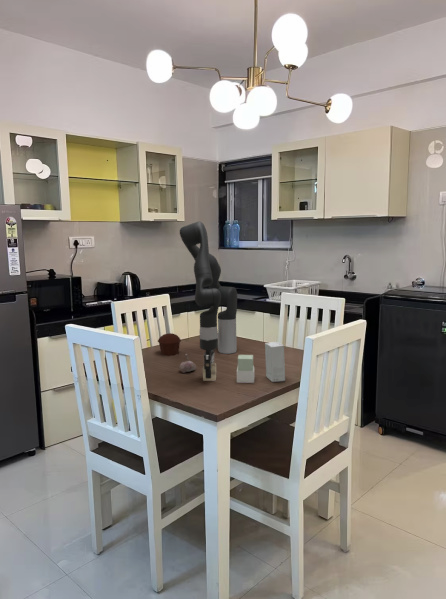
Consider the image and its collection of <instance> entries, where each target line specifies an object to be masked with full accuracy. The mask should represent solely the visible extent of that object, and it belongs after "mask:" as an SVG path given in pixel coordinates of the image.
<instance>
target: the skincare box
mask: <svg viewBox="0 0 446 599" xmlns="http://www.w3.org/2000/svg"><path fill="white" fill-rule="evenodd" d="M264 350H265V354H264V355H265V377H266V378H267V379H268V380H269V381H271V382H272V383H275V382H276V383H277V382H285V381H286V370H285V369H286V366H285V345H284V344H282V343H281V342H278V341H270V342H265V343H264Z"/></svg>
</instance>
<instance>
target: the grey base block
mask: <svg viewBox="0 0 446 599" xmlns="http://www.w3.org/2000/svg"><path fill="white" fill-rule="evenodd" d="M236 383H237V384H241V383H244V384H247V383H248V384H255V366H254V365H253V371H238V366H237V367H236Z"/></svg>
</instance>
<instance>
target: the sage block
mask: <svg viewBox="0 0 446 599" xmlns="http://www.w3.org/2000/svg"><path fill="white" fill-rule="evenodd" d="M253 366H254V354H238V356H237V367H238V371H253Z"/></svg>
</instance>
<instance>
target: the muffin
mask: <svg viewBox="0 0 446 599" xmlns="http://www.w3.org/2000/svg"><path fill="white" fill-rule="evenodd" d="M181 341H182V340H181V337H180V336H179V335H177V334H175V333H173V332H171V333H170V332H169V333H164V334H162V335H161V336H160V337H159V338H158V340H157V342H158V344H159V349H160V354H161V355H163V356H168V357H169V356H170V357H171V356H176V355H178V354H179V353H180V352H179V350H180V344H181Z"/></svg>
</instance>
